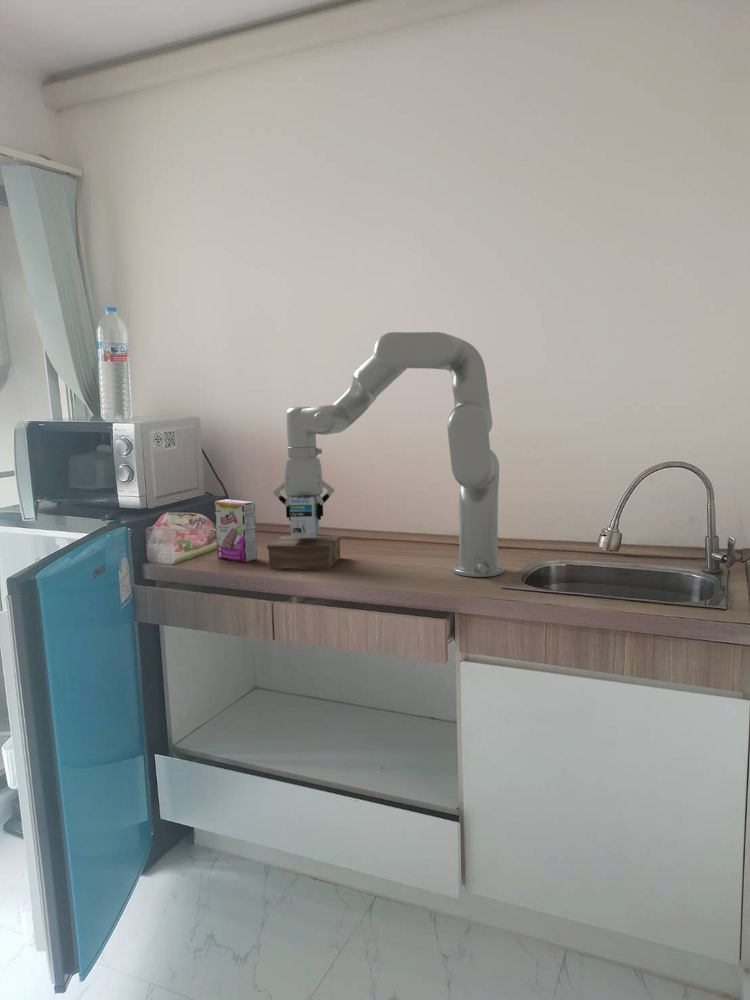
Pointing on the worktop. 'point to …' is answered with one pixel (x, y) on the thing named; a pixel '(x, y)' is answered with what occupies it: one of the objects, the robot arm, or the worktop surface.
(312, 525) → the light bulb box
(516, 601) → the worktop surface
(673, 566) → the worktop surface
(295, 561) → the walnut box
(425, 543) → the worktop surface
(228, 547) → the candy bar box
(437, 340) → the robot arm
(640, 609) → the worktop surface
